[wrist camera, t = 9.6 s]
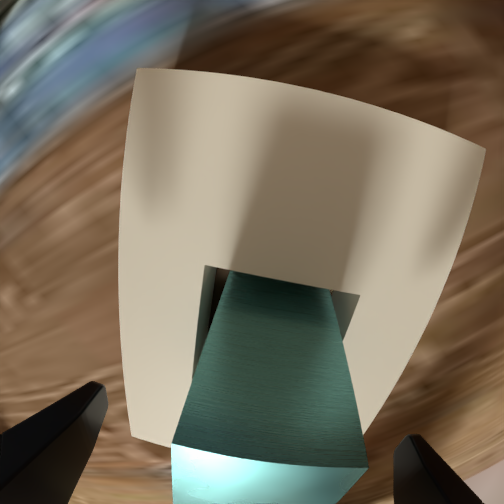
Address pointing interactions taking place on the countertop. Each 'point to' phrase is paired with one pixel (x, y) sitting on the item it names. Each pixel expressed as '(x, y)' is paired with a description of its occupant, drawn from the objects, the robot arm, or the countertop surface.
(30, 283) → the countertop surface
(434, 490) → the robot arm
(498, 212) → the countertop surface
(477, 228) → the countertop surface
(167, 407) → the beige square hole board
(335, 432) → the teal rectangular block
